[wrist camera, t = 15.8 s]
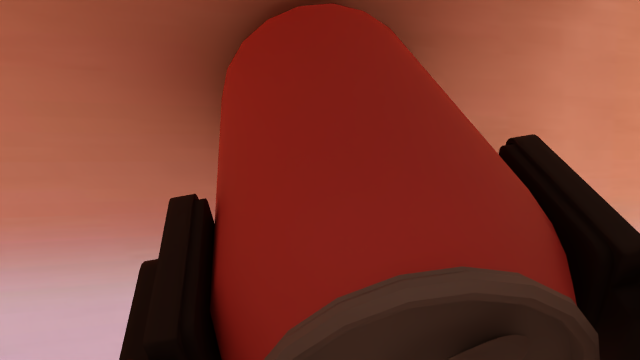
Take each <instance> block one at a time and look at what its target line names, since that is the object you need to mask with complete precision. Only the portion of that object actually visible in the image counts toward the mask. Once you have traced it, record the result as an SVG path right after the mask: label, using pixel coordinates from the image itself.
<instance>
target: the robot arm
mask: <svg viewBox="0 0 640 360" xmlns="http://www.w3.org/2000/svg"><path fill="white" fill-rule="evenodd" d="M499 156H500V157H501V158H502V159H503V160H504V162H505V163H506V164H507V165H508V166H509V167H510V169H511V170H512V171H513V172H514V173H515V174H516V176H517V177H518V178H519V179H520V180H521V181H522V182H523V184H524V185H525V186H526V187H527V188H528V189H529V191H530V192H531V194H532V195H533V197H534V198H535V200H536V201H537V202H538V204H539V205H540V207H541V208H542V210H543V211H544V213H545V214H546V216H547V217H548V219H549V220H550V221H551V223H552V224H553V227H554V229H555V231H556V233H557V236H558V238H559V240H560V242H561V245H562V247H563V249H564V251H565V254H566V257H567V261H568V265H569V270H570V274H571V279H572V283H573V288H574V293H575V298H576V303H577V307H578V308H579V309H580V311H581V312H582V313H583V315H584V316H585V317H586V319H587V320H588V321H589V323H590V324H591V325H592V327H593V328H594V329H595V331H596V332H597V333H598V339H599V355H600V360H640V233H639V232H638V231H636V230H635V229H634V228H633V227H632V226H631V225H630V224H629V223H628V222H627V221H626V220H625V219H624V218H623V217H622V216H621V215H620V214H619V213H618V212H617V211H615V210H614V209H613V208H612V207H611V206H610V205H609V204H608V203H607V202H606V201H605V200H604V199H603V198H602V197H601V196H600V195H599V194H598V193H597V192H596V191H594V190H593V189H592V188H591V187H590V186H589V185H588V184H587V183H586V182H585V181H584V180H583V179H582V178H581V177H580V176H579V175H578V174H577V173H576V172H575V171H574V170H572V169H571V168H570V167H569V166H568V165H567V164H566V163H565V162H564V161H563V160H562V159H561V158H560V157H559V156H558V155H557V154H556V153H555V152H554V151H553V150H551V149H550V148H549V147H548V146H547V145H546V144H545V143H544V142H543V141H542V140H541V139H540V138H539V137H538V136H536V135H533V134H532V135H526V136H520V137H515V138H510V139H508V140H507V142H506V145H505V146H502V147H501V148H500V150H499ZM214 228H215V224H214V220H213V217H212V214H211V211H210V207H209V204H208V201H207V199H206V198H205V199H200V200H199V199H198V197H197V195H196V194H191V195H186V196H180V197H174V198H171V199H170V201H169V205H168V210H167V216H166V221H165V226H164V231H163V237H162V242H161V247H160V253H159V258H158V259H155V260H150V261H144V262H143V263H142V265H141V268H140V271H139V275H138V280H137V284H136V288H135V293H134V297H133V302H132V306H131V310H130V315H129V319H128V323H127V328H126V332H125V337H124V341H123V345H122V350H121V354H120V358H119V360H222V359H221V355H220V351H219V347H218V343H217V339H216V334H215V330H214V326H213V322H212V317H211V313H210V299H211V281H212V264H213V246H214Z"/></svg>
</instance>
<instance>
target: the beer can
mask: <svg viewBox="0 0 640 360" xmlns="http://www.w3.org/2000/svg"><path fill="white" fill-rule="evenodd" d="M210 313H211V317H212V322H213V326H214V330H215V334H216V339H217V343H218V347H219V351H220V355H221V359H222V360H600V355H599V339H598V333H597V332H596V331H595V329H594V328H593V327H592V325H591V324H590V323H589V321H588V320H587V319H586V317H585V316H584V315H583V313H582V312H581V311H580V309H579V308H578V307H577V303H576V298H575V293H574V288H573V283H572V279H571V274H570V270H569V265H568V261H567V257H566V254H565V251H564V249H563V247H562V245H561V242H560V240H559V238H558V236H557V233H556V231H555V229H554V227H553V224H552V223H551V221H550V220H549V219H548V217H547V216H546V214H545V213H544V211H543V210H542V208H541V207H540V205H539V204H538V202H537V201H536V200H535V198H534V197H533V195H532V194H531V192H530V191H529V189H528V188H527V187H526V186H525V185H524V184H523V182H522V181H521V180H520V179H519V178H518V177H517V176H516V174H515V173H514V172H513V171H512V170H511V169H510V167H509V166H508V165H507V164H506V163H505V162H504V160H503V159H502V158H501V157H500V156H499V155H498V153H497V152H496V151H495V150H494V149H493V148H492V146H491V145H490V144H489V143H488V142H487V141H486V139H485V138H484V137H483V136H482V135H481V134H480V132H479V131H478V130H477V129H476V128H475V127H474V126H473V124H472V123H471V122H470V121H469V120H468V119H467V117H466V116H465V115H464V114H463V113H462V112H461V110H460V109H459V108H458V107H457V106H456V105H455V103H454V102H453V101H452V100H451V99H450V98H449V96H448V95H447V94H446V93H445V92H444V91H443V89H442V88H441V87H440V86H439V85H438V84H437V83H436V81H435V80H434V79H433V78H432V77H431V76H430V74H429V73H428V72H427V71H426V70H425V69H424V67H423V66H422V65H421V64H420V63H419V62H418V60H417V59H416V58H415V57H414V56H413V55H412V53H411V52H410V51H409V50H408V49H407V48H406V46H405V45H404V44H403V43H402V42H401V41H400V39H399V38H398V37H397V36H396V35H395V34H394V33H393V31H392V30H391V29H390V28H389V27H387V26H386V25H384V24H383V23H381V22H380V21H378V20H377V19H375V18H374V17H372V16H371V15H369V14H368V13H366V12H365V11H361V10H357V9H353V8H349V7H345V6H341V5H337V4H333V3H331V4H320V5H308V6H298V7H296V8H294V9H291V10H289V11H287V12H284V13H282V14H280V15H277V16H275V17H273V18H270V19H268V20H267V21H266V22H265V23H263V24H262V25H261V26H260V27H259V28H258V29H257V30H255V31H254V32H253V33H252V34H251V35H250V36H249V37H248V38H246V39H245V40H244V41H243V42H242V44H241V46H240V48H239V49H238V51H237V53H236V55H235V56H234V58H233V60H232V62H231V63H230V65H229V67H228V69H227V73H226V78H225V84H224V89H223V95H222V104H221V122H220V139H219V157H218V175H217V193H216V210H215V228H214V246H213V264H212V281H211V299H210Z"/></svg>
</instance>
